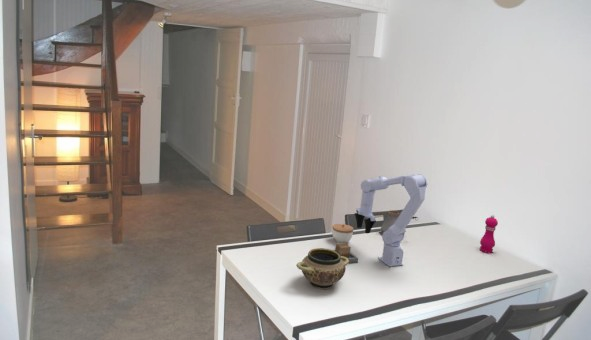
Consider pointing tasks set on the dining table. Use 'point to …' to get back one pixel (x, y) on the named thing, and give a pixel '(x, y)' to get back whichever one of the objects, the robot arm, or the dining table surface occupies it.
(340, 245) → the walnut block
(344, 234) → the lidded jar
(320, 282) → the ceramic bowl
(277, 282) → the dining table surface
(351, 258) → the tray
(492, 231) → the pepper mill
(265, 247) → the dining table surface
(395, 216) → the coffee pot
